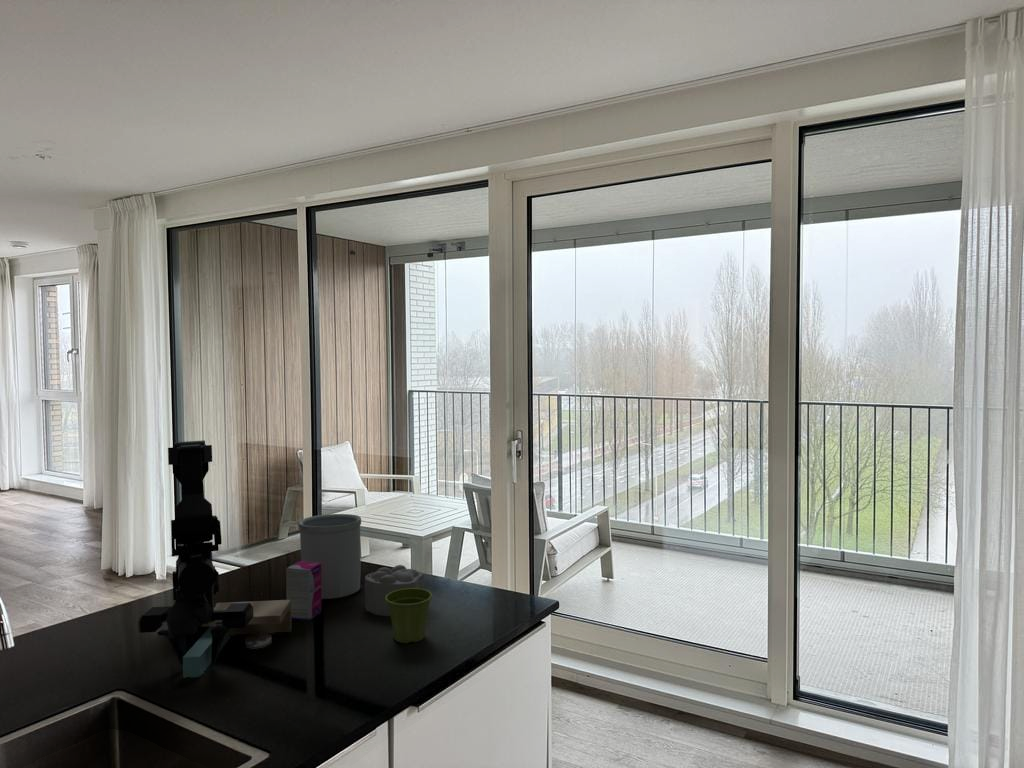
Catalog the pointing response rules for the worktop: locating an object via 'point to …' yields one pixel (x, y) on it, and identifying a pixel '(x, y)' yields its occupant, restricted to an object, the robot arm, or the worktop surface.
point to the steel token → (258, 640)
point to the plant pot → (409, 613)
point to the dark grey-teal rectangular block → (200, 655)
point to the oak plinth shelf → (263, 617)
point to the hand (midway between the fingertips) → (198, 663)
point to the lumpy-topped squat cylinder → (388, 586)
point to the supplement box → (304, 590)
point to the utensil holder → (333, 551)
